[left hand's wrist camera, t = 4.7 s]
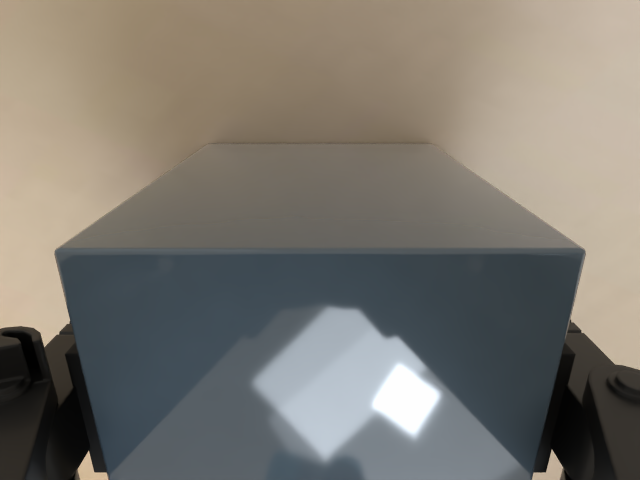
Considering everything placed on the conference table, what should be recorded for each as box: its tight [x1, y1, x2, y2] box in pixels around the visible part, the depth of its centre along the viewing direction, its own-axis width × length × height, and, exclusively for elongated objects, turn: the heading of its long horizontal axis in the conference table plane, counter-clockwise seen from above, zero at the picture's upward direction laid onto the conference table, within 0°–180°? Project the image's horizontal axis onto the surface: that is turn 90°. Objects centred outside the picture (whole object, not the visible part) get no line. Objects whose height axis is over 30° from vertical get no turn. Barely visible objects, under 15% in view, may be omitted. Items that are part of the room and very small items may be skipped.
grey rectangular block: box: [55, 144, 586, 480], centre depth 11 cm, size 7×7×9 cm
